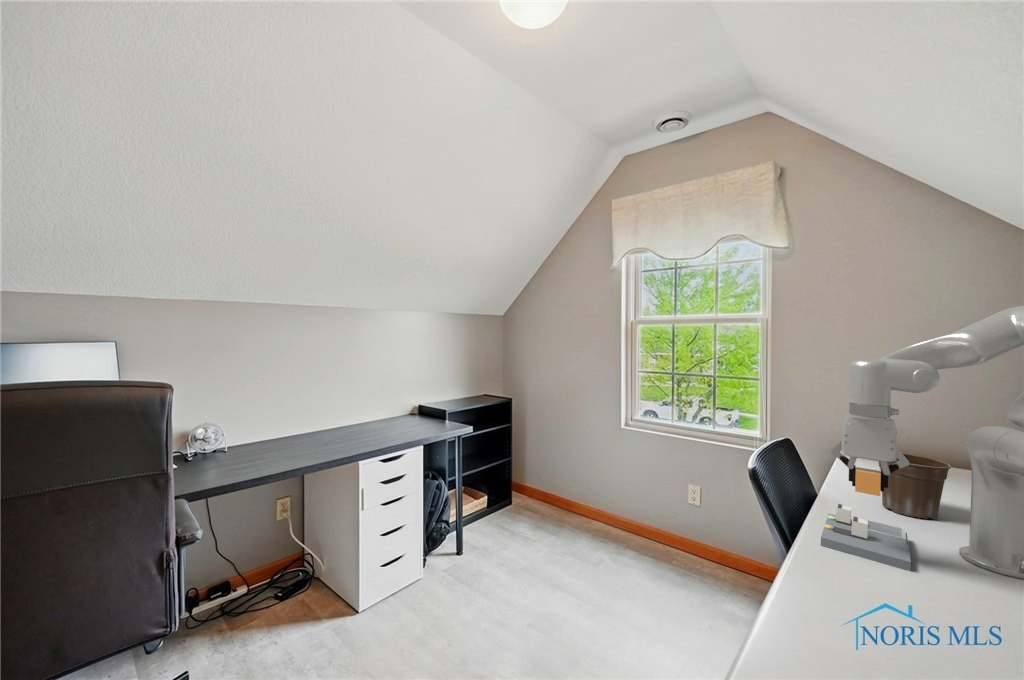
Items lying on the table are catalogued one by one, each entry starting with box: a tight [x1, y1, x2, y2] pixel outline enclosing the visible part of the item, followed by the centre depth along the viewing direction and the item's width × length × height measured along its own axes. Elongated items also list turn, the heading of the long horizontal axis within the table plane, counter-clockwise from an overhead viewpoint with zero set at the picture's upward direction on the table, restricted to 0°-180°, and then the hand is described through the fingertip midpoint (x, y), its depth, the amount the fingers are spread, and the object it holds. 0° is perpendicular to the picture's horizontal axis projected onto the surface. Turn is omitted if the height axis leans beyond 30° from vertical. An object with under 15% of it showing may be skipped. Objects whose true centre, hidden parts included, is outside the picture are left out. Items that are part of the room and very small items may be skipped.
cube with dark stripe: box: [851, 516, 868, 539], centre depth 104 cm, size 3×3×4 cm
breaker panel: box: [820, 513, 912, 572], centre depth 105 cm, size 20×16×3 cm
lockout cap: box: [854, 466, 881, 497], centre depth 100 cm, size 4×4×5 cm
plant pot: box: [878, 452, 952, 520], centre depth 126 cm, size 16×16×16 cm
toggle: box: [835, 503, 852, 524], centre depth 112 cm, size 3×3×4 cm
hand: (867, 486), depth 100 cm, fingers closed on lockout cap, 4 cm apart
